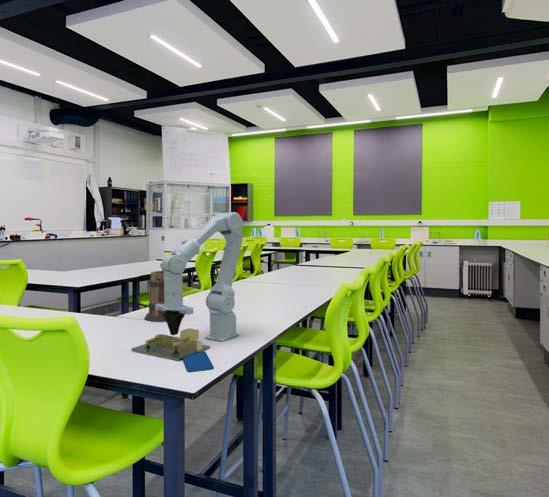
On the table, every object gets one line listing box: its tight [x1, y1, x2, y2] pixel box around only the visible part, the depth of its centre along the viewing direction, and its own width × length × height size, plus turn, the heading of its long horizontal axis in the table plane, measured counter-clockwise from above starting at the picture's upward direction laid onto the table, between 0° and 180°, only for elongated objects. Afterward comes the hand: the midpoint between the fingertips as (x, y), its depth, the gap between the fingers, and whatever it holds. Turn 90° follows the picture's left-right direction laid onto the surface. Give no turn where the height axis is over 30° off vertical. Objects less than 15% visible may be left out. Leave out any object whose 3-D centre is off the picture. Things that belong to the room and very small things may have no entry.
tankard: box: [143, 270, 185, 323], centre depth 170 cm, size 24×17×20 cm
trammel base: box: [130, 333, 211, 362], centre depth 127 cm, size 14×20×3 cm
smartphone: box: [181, 350, 215, 373], centre depth 115 cm, size 7×1×15 cm
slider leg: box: [173, 328, 200, 353], centre depth 124 cm, size 8×4×5 cm, turn 150°
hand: (174, 334), depth 129 cm, fingers closed
